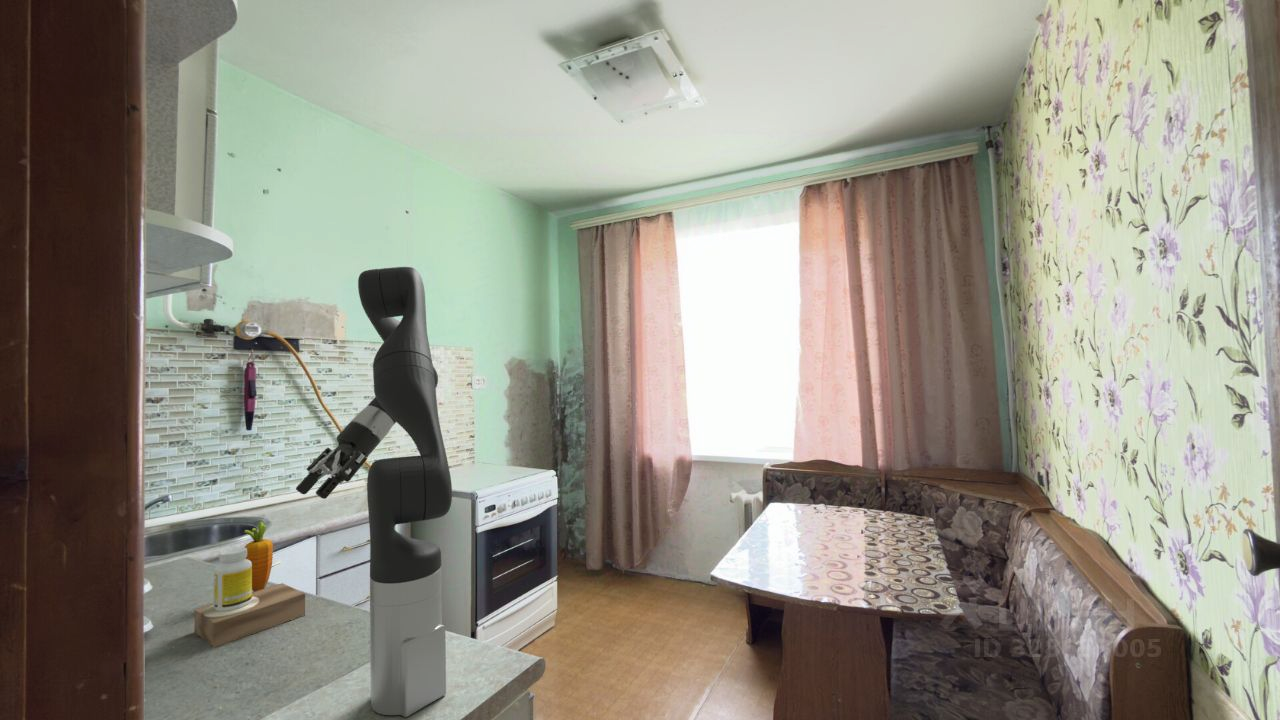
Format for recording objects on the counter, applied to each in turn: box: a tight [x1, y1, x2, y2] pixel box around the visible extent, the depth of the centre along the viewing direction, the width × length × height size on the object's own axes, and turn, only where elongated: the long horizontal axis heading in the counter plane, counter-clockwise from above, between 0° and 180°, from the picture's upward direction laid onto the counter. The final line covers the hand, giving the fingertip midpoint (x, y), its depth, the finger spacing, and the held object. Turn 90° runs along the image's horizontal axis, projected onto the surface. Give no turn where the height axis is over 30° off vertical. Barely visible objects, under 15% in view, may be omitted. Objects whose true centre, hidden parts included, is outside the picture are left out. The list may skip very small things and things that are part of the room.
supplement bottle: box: [213, 547, 253, 611], centre depth 95 cm, size 5×5×10 cm
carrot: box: [243, 521, 274, 592], centre depth 110 cm, size 5×5×15 cm
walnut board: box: [193, 583, 306, 648], centre depth 97 cm, size 10×14×4 cm
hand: (309, 494), depth 104 cm, fingers open, 8 cm apart
